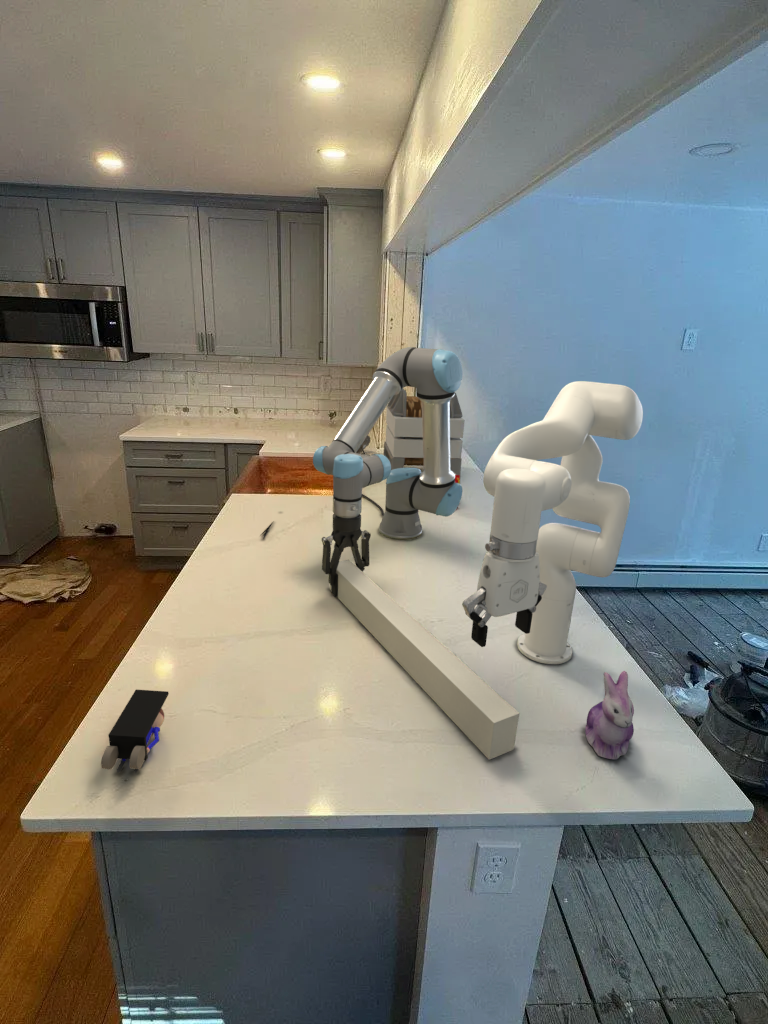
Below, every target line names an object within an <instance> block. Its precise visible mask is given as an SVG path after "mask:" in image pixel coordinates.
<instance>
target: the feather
mask: <svg viewBox="0 0 768 1024" xmlns="http://www.w3.org/2000/svg"><path fill="white" fill-rule="evenodd" d="M274 522H275V521H274V520H273V521H272V522H271V523H270V524H269V526H267V527H266V528H265V529H264V531H263V532H262V533H261V534H260V536H263V538H262V540H264V539H265V537H266V536H267V534H268V532H269V531H270V529H271V527H272V525H273V524H274Z"/></svg>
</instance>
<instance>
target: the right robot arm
mask: <svg viewBox="0 0 768 1024" xmlns="http://www.w3.org/2000/svg"><path fill="white" fill-rule="evenodd" d="M643 418H644V409H643V404H642V402H641V400H640V398H639V396H638V394H637V392H635V391H634V390H633V389H632V388H631V387H629V386H628V385H627V386H626V385H624V384H616V383H605V382H597V381H586V380H577V381H576V380H575V381H572V382H569V383H567V384H565V386H563V387H562V388H561V390H560V391H559V393H558V394H557V396H556V398H555V399H554V400H553V402H552V404H551V406H549V409H548V411H547V412H546V413H545V415H544V417H543V418H542V420H540V421H536V422H533V423H531V424H529V425H527V426H523V427H522V428H520V429H517V430H515V431H513V432H511V433H510V434H508V435H507V436H505V437H504V438H503V439H502V440H501V441H500V442H499V444H498V446H497V447H496V448H495V450H494V452H493V453H492V455H491V456H490V458H489V460H488V462H487V464H486V465H485V467H484V468H485V469H484V472H483V477H482V482H483V487H484V489H485V491H486V492H487V494H488V495H490V496H491V497H494V499H493V508H492V513H491V514H492V516H491V524H490V532H489V533H490V534H489V540H488V541H489V542H487V543H485V544H484V549H485V550H486V552H485V554H484V557H483V559H482V563H481V568H480V572H479V576H478V581H477V588H476V591H475V592H474V593H472V594H471V595H470V596H468V597H467V598H466V599H465V600H463V601H462V603H461V605H462V608H463V610H464V612H465V615H466V616H467V617H468V618H469V619H470V620H471V621H472V626H471V638H470V639H471V640H472V641H473V642H475V643H476V644H477V645H478V646H480V647H481V648H484V647H486V646H487V639H488V631H489V626H488V625H487V623H488V622H489V621H490V619H491V617H494V618H499V617H504V616H507V615H511V614H515V613H516V615H515V623H514V626H515V627H516V628H517V629H518V630H520V631H521V632H523V633H521V635H519V637H518V639H517V643H516V646H517V649H518V650H519V651H520V653H521V654H522V655H523V656H525V657H526V658H528V659H530V660H532V661H534V662H537V663H541V664H546V665H559V664H564V663H566V662H568V661H570V660H571V658H572V656H573V648H572V646H571V644H570V643H569V642H568V639H569V632H570V628H571V627H570V626H571V622H572V616H573V611H574V610H573V609H574V605H575V599H576V594H577V593H576V592H577V583H576V579H575V577H574V574H573V572H576V573H579V574H584V575H586V576H587V575H588V576H591V577H596V578H608V577H609V576H611V575H612V573H614V570H615V568H616V566H617V562H618V558H619V554H620V550H621V545H622V542H623V537H624V533H625V529H626V525H627V522H628V517H629V512H630V505H631V504H630V503H631V498H630V497H631V496H630V492H629V491H628V489H627V488H626V487H625V486H623V485H621V484H617V483H614V482H607V481H604V480H603V481H602V480H600V473H601V469H602V465H603V460H604V458H603V455H602V451H601V449H600V447H599V445H598V443H597V442H596V440H595V438H593V437H600V438H606V439H614V440H619V441H620V440H622V441H630V440H631V439H633V438H634V437H636V435H638V433H639V431H640V429H641V427H642V423H643ZM556 458H561V461H560V464H557V463H553V462H547V461H542V460H550V459H556ZM547 510H552V511H553V513H554V514H555V515H557V516H559V517H561V518H564V519H568V520H571V521H577V522H581V523H586V524H592V525H595V526H598V527H599V528H600V531H595V530H591V529H587V528H582V527H578V526H574V525H570V524H565V523H560V522H548V523H544V524H543V525H541V519H542V513H543V512H544V511H547ZM540 525H541V526H540ZM572 571H573V572H572ZM483 611H485V612H484V613H483V614H482V612H483ZM481 614H482V616H480V615H481Z"/></svg>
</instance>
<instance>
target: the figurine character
mask: <svg viewBox="0 0 768 1024" xmlns="http://www.w3.org/2000/svg"><path fill="white" fill-rule="evenodd" d="M168 696H169V691H165V690H164V691H163V690H152V689H151V690H149V689H135V690H134V692H133V693H132V695H131V697H130V698H129V700H128V701H127V703H126V705H125V707H124V708H123V710H122V712H121V713H120V715H119V717H117V720H116V722H114V725H113V727H112V728H111V729H110V731H109V733H108V734H107V735H108V736H107V737H108V743H109V745H108V746H106V748H105V749H104V751H103V753H102V756H101V761H100V766H101V769H102V770H112V769H113V768H114V767H115V766H116V763H117V762H118V760H120V761H119V764H118V765H117V767H116V772H117V773H118V774H119V773H121V772H122V771H123V769H124V766H125V764H126V762H127V760H128V761H129V769H131V770H132V769H133V772H134V774H136V773H137V772H139V771H140V769H141V768H142V766H143V764H144V762H145V761H146V762H147V761H148V758H149V757H148V754H149V753H150V751H151V750H152V749H153V748H154V747H155V746H156V744H158V742H160V737H159V732H160V731H161V727H162V725H163V723H164V721H165V712H164V710H163V706H164V704H165V702H166V700H167V698H168ZM152 735H153V736H154V739H153V740H152V741H151V742H150V744H149V741H150V740H151V737H152Z"/></svg>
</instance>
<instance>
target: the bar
mask: <svg viewBox="0 0 768 1024" xmlns="http://www.w3.org/2000/svg"><path fill="white" fill-rule="evenodd" d="M336 573H337V574H338V597H337V599H338V600H339V601H340V602H341V603H342V604H343V605H344V606H345V607H346V608H347V609H348V610H349V611H350V613H351V614H352V615H354V617H355V619H357V620H358V621H359V622H360V623H361V624H362V626H364V627H365V629H366V630H367V631H368V632H369V633H370V634H371V635H372V636H373V637H374V638H375V640H377V642H378V643H380V645H381V646H382V647H383V648H384V649H385V650H386V651H387V652H388V654H390V656H391V657H393V659H394V660H395V661H396V662H397V663H398V664H399V665H400V666H401V667H402V668H403V670H404V671H405V672H406V673H407V674H408V675H409V676H410V677H411V678H412V679H413V680H414V682H415V683H417V685H418V686H419V687H421V689H422V690H423V691H424V692H425V693H426V694H427V695H428V696H429V697H430V698H431V699H432V700H433V702H434V703H435V704H436V705H437V706H438V707H439V708H440V709H441V710H442V711H443V712H444V714H446V716H448V718H449V719H450V720H451V721H452V722H453V723H454V724H455V725H456V726H457V727H458V728H459V730H461V732H462V733H463V734H464V735H465V736H466V737H467V738H468V740H470V741H471V742H472V743H473V744H474V745H475V747H476V748H477V749H478V750H479V751H480V752H481V754H483V756H485V757H486V758H487V760H488V761H490V760H492V759H494V758H497V757H499V756H502V755H504V754H506V753H509V752H511V751H514V750H515V746H516V738H517V733H518V732H517V731H518V725H519V721H520V712H519V711H518V710H516V708H514V707H513V706H512V705H511V704H510V703H509V702H508V701H507V700H505V699H504V698H503V697H502V696H501V695H500V694H499V693H498V692H497V691H495V690H494V689H493V688H492V687H491V686H490V685H489V684H488V683H486V681H485V680H483V678H481V677H480V676H479V675H478V674H477V673H475V671H473V670H472V669H471V668H470V667H469V666H468V665H466V664H465V663H464V661H462V660H461V659H460V658H459V657H458V656H457V655H456V654H455V653H454V652H452V651H451V650H450V649H449V648H448V647H447V646H445V644H443V643H442V642H441V641H440V640H439V638H437V637H435V636H434V635H433V634H432V633H431V632H430V631H429V630H428V629H427V628H426V627H425V626H423V625H422V624H421V623H420V622H419V621H418V620H417V619H416V618H414V616H412V614H410V613H409V612H408V611H407V610H406V609H405V608H404V607H402V606H401V605H400V604H399V603H398V602H397V601H396V600H394V598H393V597H392V596H391V595H389V594H388V593H386V591H385V590H384V589H382V588H381V587H380V586H379V585H378V584H377V583H376V582H374V580H372V579H371V578H370V577H369V576H368V575H367V574H366V573H364V571H363V572H362V571H361V570H360V569H359V568H358V567H357V566H356V564H355V563H353V562H352V560H350V559H344V560H339V564H338V567H337V570H336ZM329 590H330V591H331V585H330V584H329Z"/></svg>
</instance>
